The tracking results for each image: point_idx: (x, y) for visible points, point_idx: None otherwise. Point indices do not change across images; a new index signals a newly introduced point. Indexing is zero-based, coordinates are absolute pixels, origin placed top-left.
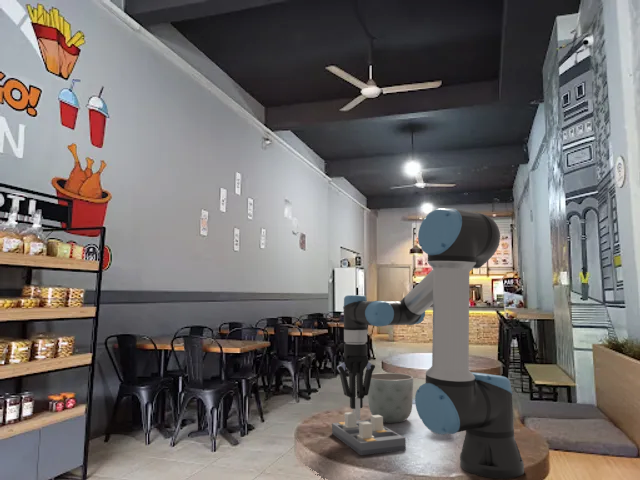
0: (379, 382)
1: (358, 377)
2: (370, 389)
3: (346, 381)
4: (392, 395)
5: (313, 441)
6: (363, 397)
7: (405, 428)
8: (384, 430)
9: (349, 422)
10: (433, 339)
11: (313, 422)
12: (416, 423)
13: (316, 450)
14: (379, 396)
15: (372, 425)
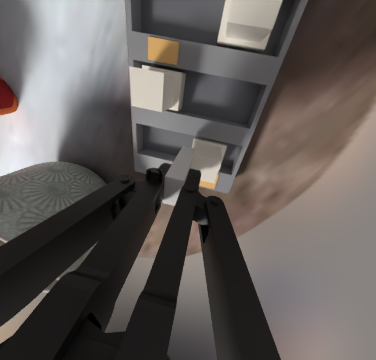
0: None
1: (117, 273)
2: None
3: (229, 271)
4: (36, 193)
5: (299, 162)
6: (151, 169)
7: (76, 132)
8: (151, 51)
9: (217, 150)
10: None
11: None
12: (47, 148)
13: (366, 95)
14: None
15: (171, 94)
